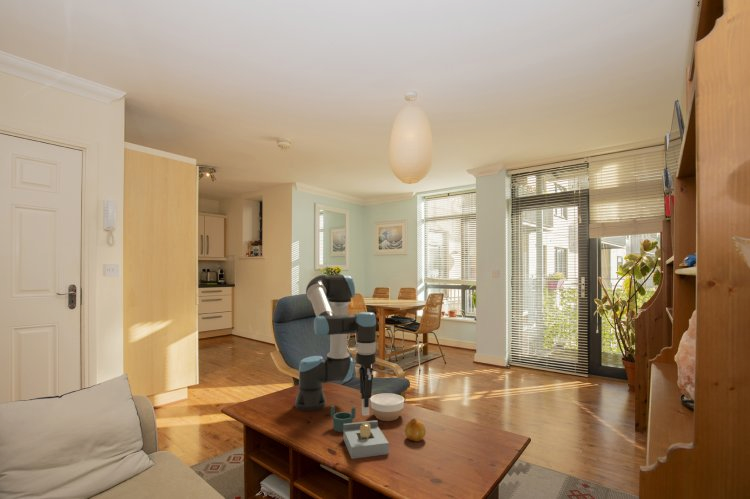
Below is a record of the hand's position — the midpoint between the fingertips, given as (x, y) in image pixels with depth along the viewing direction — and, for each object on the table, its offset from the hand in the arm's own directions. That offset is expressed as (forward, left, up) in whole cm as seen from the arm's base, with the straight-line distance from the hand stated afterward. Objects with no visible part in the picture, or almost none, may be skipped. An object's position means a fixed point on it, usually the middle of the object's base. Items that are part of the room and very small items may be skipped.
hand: (365, 414), depth 145 cm
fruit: (-1, +21, -12) cm, 24 cm away
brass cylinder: (0, 0, -12) cm, 12 cm away
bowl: (-26, +17, -12) cm, 33 cm away
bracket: (-19, -5, -12) cm, 23 cm away
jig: (0, 0, -12) cm, 12 cm away
